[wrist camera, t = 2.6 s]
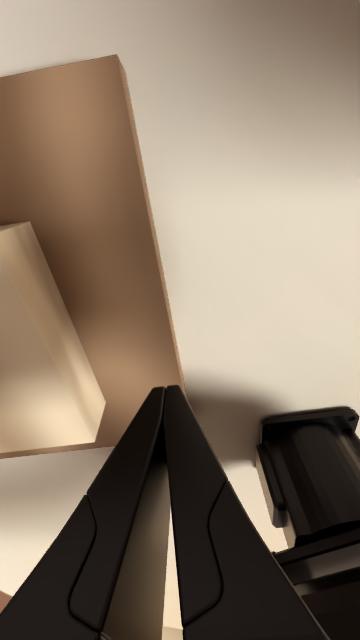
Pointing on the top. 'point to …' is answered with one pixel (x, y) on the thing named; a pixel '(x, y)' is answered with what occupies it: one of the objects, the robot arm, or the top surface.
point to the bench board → (91, 227)
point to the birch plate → (40, 355)
